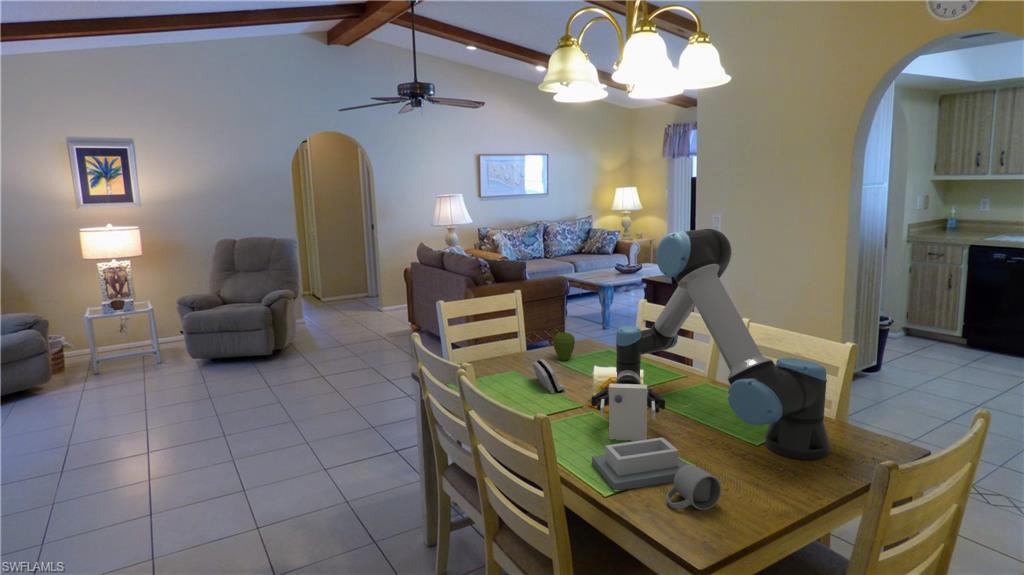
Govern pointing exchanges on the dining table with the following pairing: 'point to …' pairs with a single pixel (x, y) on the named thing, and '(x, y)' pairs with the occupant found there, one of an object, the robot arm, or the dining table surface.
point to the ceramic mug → (694, 488)
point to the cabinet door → (628, 412)
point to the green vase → (564, 345)
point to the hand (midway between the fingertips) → (627, 413)
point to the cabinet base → (638, 463)
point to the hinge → (547, 376)
